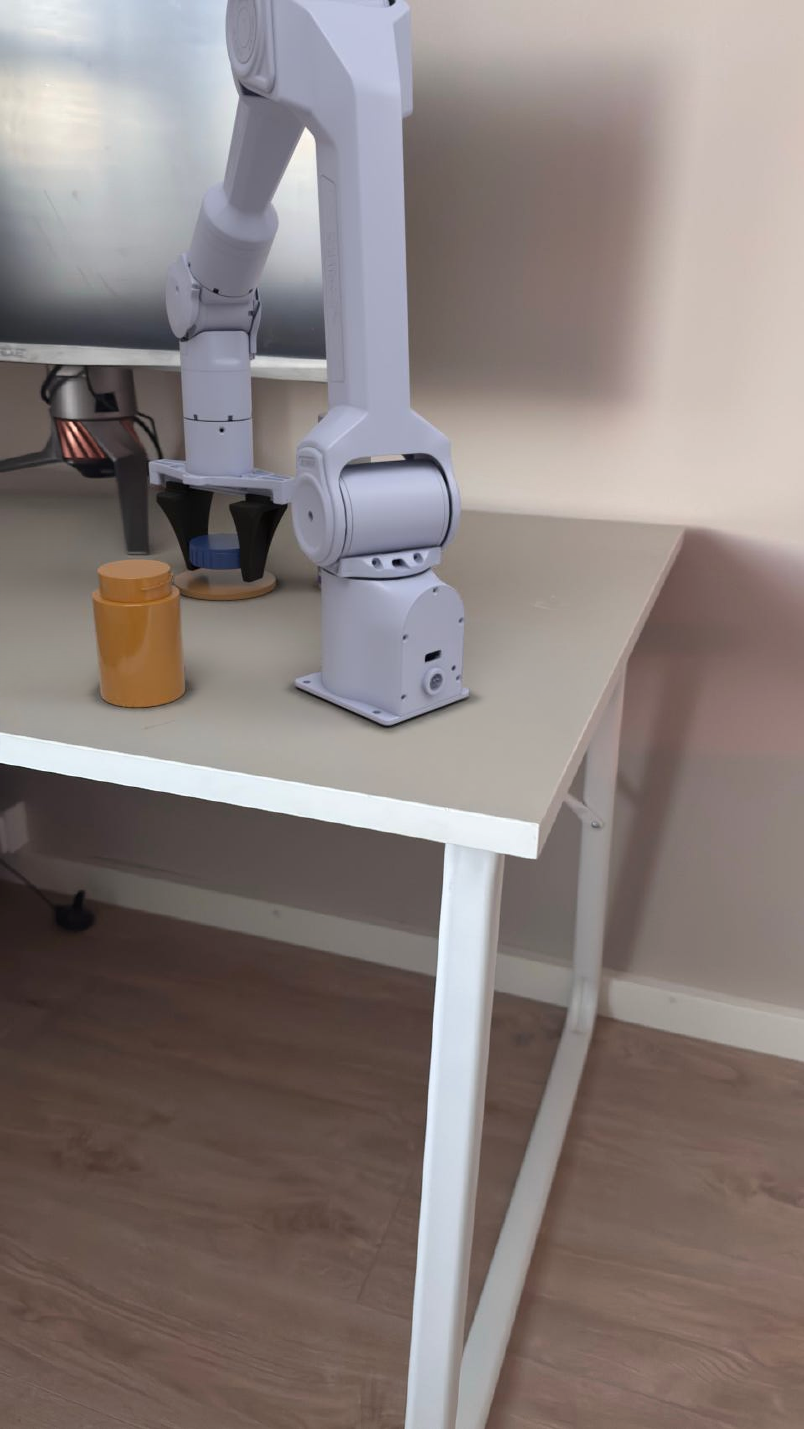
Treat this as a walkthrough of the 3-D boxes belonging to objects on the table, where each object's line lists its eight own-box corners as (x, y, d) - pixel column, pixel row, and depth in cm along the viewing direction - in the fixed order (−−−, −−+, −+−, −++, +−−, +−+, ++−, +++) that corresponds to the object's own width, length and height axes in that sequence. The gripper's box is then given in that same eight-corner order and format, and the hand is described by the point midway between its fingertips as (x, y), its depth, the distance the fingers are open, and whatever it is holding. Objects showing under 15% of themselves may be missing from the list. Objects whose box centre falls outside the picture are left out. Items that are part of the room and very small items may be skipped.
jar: (202, 693, 73) (195, 569, 69) (129, 714, 69) (119, 585, 66) (155, 670, 76) (147, 552, 73) (85, 690, 73) (72, 567, 69)
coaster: (296, 587, 96) (296, 580, 96) (212, 607, 90) (212, 600, 90) (235, 566, 102) (235, 560, 102) (154, 583, 96) (153, 577, 96)
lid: (236, 549, 99) (235, 530, 98) (271, 563, 95) (270, 543, 94) (177, 558, 96) (176, 538, 95) (210, 573, 91) (209, 553, 91)
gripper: (119, 414, 90) (131, 570, 96) (258, 431, 84) (263, 598, 89) (175, 405, 96) (184, 554, 101) (309, 421, 90) (311, 578, 95)
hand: (224, 573), depth 96 cm, fingers closed on lid, 6 cm apart
